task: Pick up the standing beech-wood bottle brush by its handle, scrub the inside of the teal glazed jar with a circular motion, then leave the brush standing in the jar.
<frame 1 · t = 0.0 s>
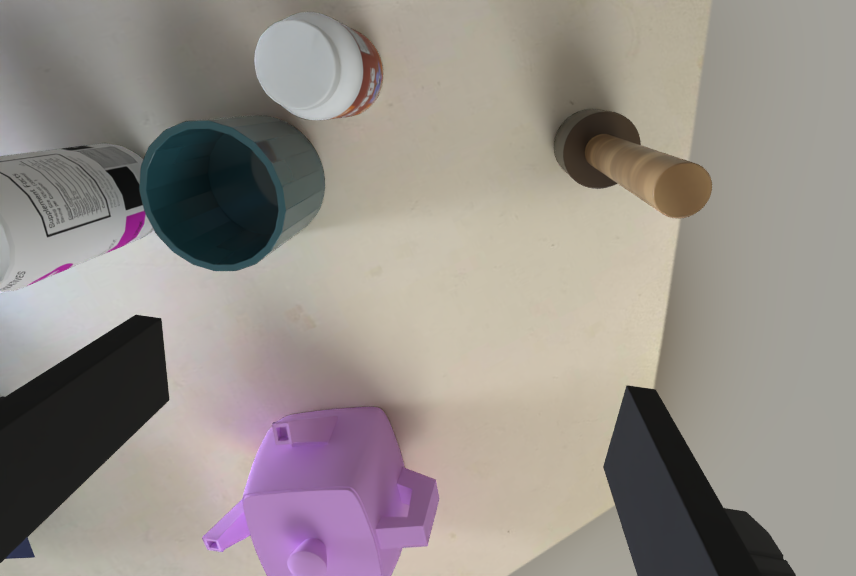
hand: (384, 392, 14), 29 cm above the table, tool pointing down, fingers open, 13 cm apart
brush: (587, 144, 38), on the table
supplement can: (124, 191, 44), on the table
teakettle: (340, 459, 52), on the table
pill bottle: (345, 73, 39), on the table
jar: (266, 178, 42), on the table
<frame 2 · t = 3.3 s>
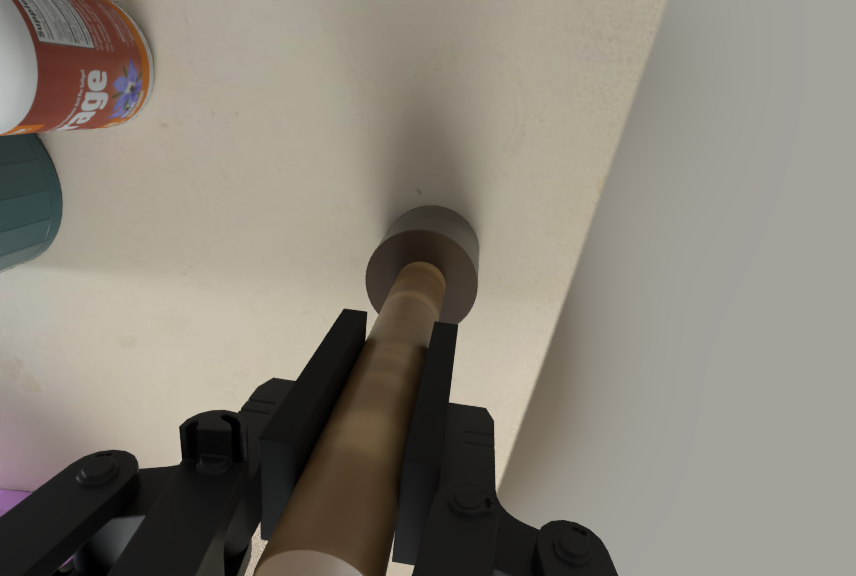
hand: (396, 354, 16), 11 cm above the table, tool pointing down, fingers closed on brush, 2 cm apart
brush: (432, 252, 27), on the table, touching gripper
teakettle: (66, 554, 39), on the table
pill bottle: (103, 62, 26), on the table
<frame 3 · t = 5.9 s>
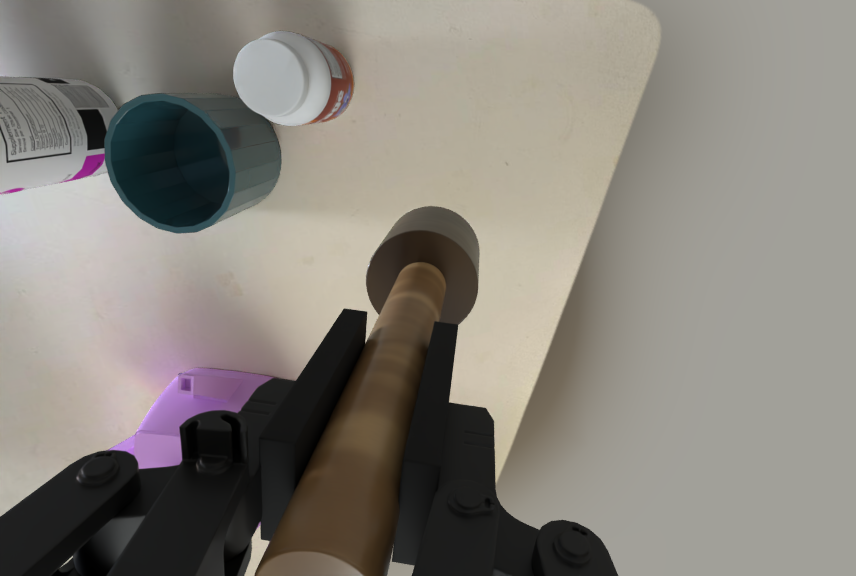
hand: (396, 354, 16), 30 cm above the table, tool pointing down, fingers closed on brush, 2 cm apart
brush: (432, 252, 27), point 19 cm above the table, touching gripper
supplement can: (90, 127, 46), on the table
teakettle: (237, 418, 56), on the table
pill bottle: (320, 82, 43), on the table
jar: (227, 153, 46), on the table
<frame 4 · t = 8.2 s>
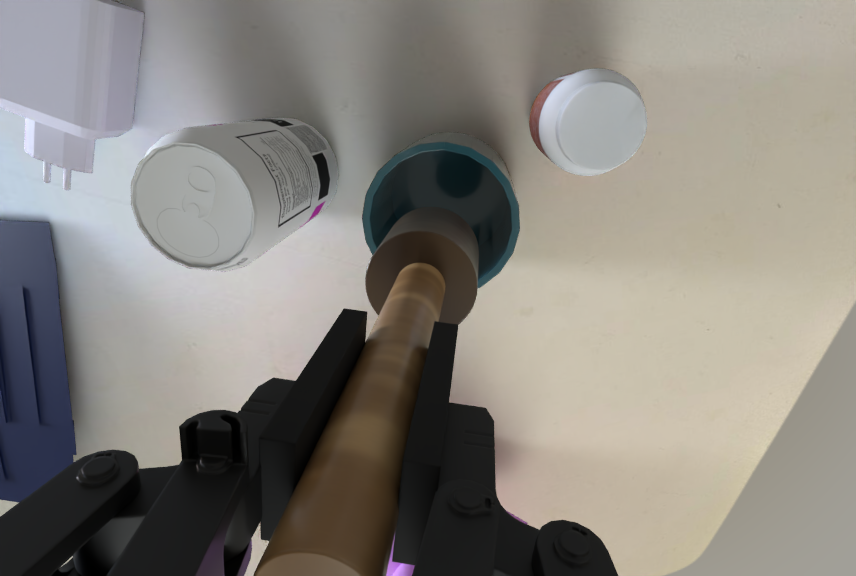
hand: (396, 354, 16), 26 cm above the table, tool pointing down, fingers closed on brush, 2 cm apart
charger: (87, 93, 41), on the table
brush: (431, 253, 27), point 15 cm above the table, touching gripper
supplement can: (292, 169, 42), on the table
teakettle: (419, 477, 51), on the table
pill bottle: (570, 118, 38), on the table
jar: (449, 196, 41), on the table
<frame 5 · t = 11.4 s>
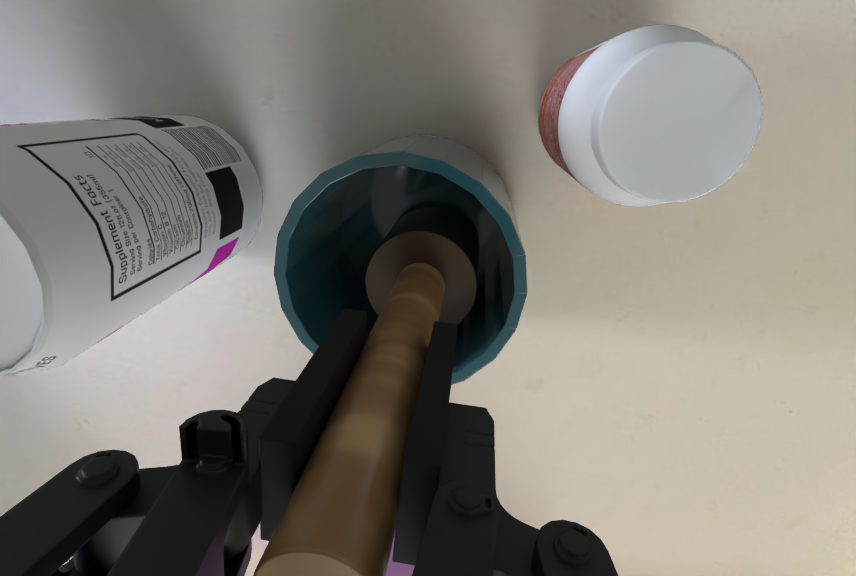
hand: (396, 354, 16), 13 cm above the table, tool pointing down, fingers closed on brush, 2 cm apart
brush: (431, 253, 27), point 2 cm above the table, touching gripper
supplement can: (200, 189, 29), on the table
pill bottle: (599, 114, 26), on the table
jar: (423, 227, 28), on the table
when the fingers open (12 cm above the table, at t = 13.4 s): brush stays where it is, resting on jar.
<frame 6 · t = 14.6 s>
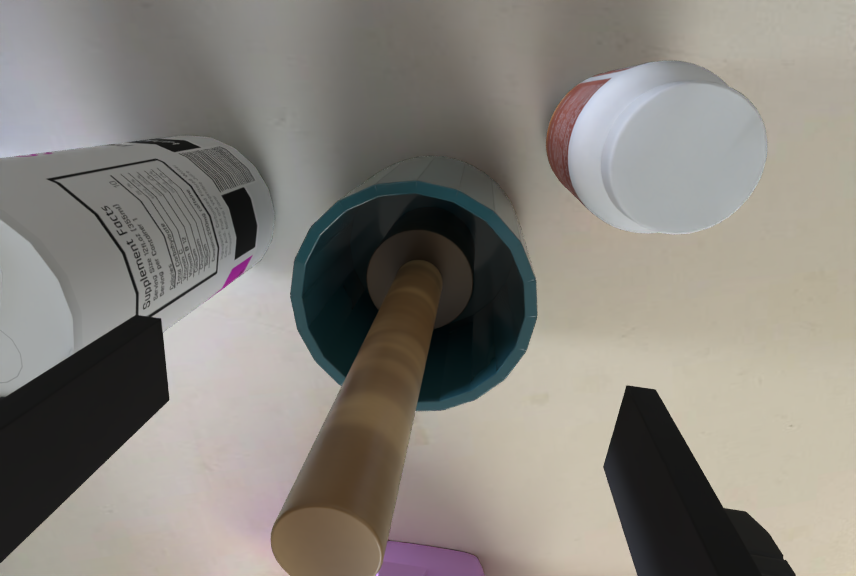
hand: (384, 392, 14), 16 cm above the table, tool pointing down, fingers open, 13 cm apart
brush: (429, 251, 28), point 1 cm above the table, touching jar
supplement can: (212, 207, 30), on the table
pill bottle: (605, 136, 26), on the table
jar: (432, 245, 29), on the table
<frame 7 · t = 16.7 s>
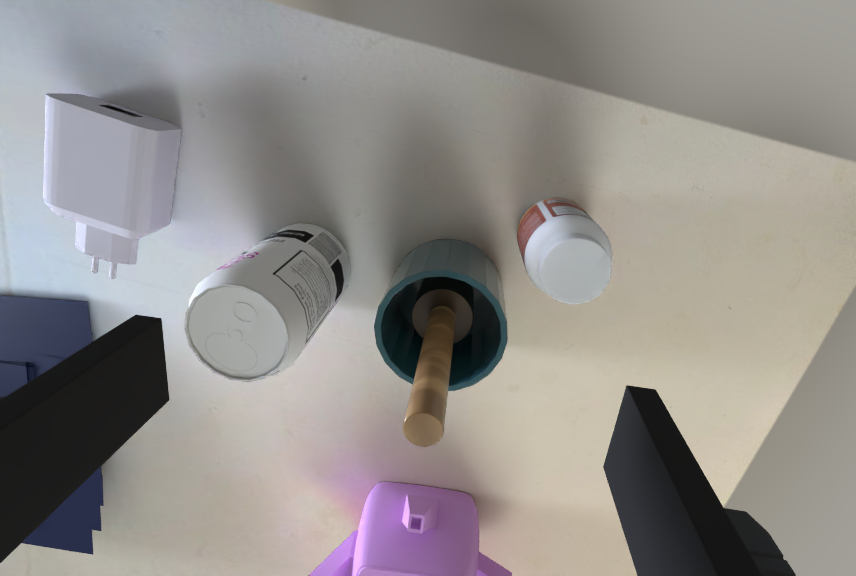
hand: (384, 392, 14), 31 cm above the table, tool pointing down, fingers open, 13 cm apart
charger: (129, 193, 47), on the table
brush: (446, 295, 46), point 1 cm above the table, touching jar
supplement can: (309, 264, 47), on the table
dark blue flat slab: (12, 410, 57), on the table
teakettle: (415, 527, 57), on the table
pill bottle: (552, 231, 44), on the table
jar: (447, 291, 47), on the table
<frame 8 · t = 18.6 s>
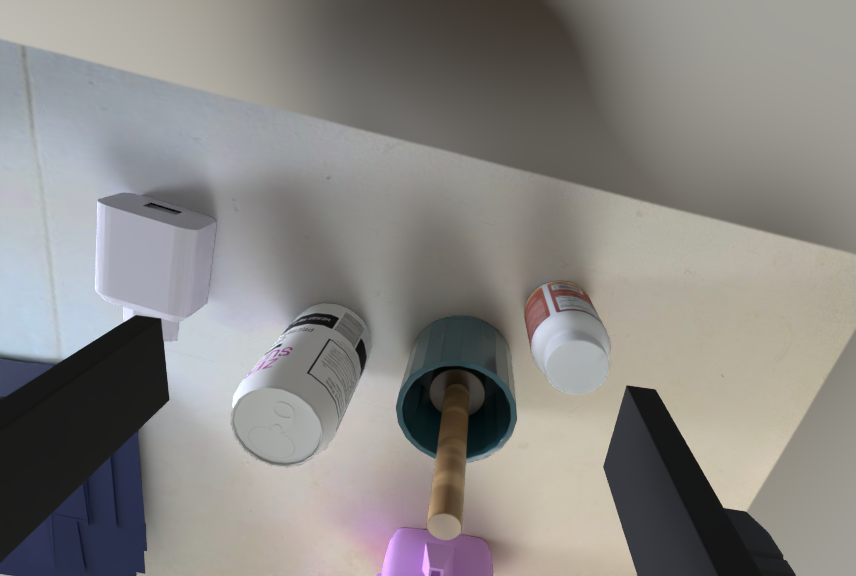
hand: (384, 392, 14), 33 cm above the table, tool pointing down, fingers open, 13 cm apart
charger: (169, 275, 51), on the table
brush: (459, 366, 50), point 1 cm above the table, touching jar
supplement can: (333, 337, 51), on the table
dark blue flat slab: (61, 463, 62), on the table
teakettle: (434, 568, 61), on the table
pill bottle: (557, 308, 48), on the table
jar: (460, 361, 51), on the table
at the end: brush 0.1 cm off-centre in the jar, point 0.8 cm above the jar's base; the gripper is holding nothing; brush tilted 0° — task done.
